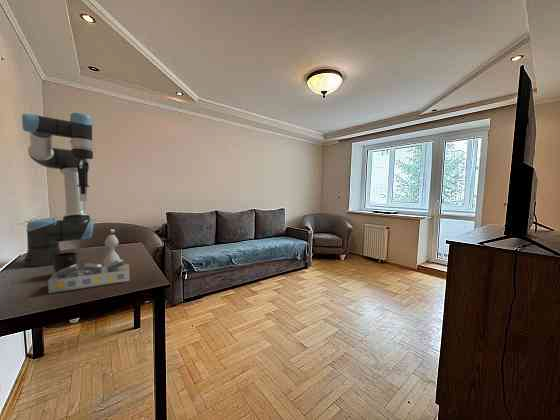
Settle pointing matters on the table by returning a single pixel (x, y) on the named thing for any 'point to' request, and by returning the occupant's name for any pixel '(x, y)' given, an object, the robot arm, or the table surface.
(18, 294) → the table surface
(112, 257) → the figurine
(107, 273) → the console
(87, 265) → the switch
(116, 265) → the switch
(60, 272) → the switch
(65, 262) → the mug
